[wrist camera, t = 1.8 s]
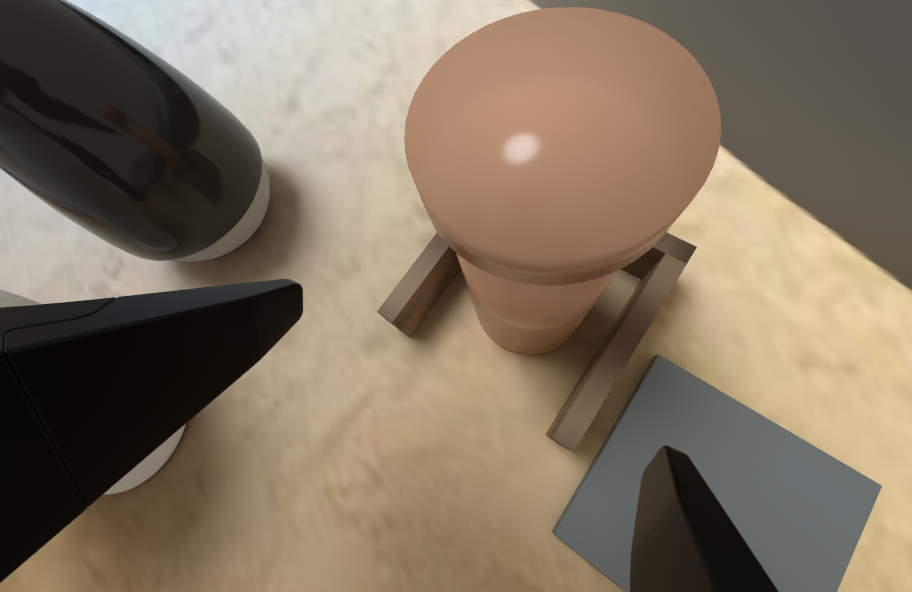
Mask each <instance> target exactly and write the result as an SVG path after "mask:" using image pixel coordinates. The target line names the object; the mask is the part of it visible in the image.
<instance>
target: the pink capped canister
mask: <svg viewBox="0 0 912 592" xmlns="http://www.w3.org/2000/svg"><path fill="white" fill-rule="evenodd" d="M720 135H721V120H720V110H719V106H718V102H717V97H716V94H715V92H714V90H713V87H712V85H711V82H710V80H709V79H708V77H707V75H706V74H705V72H704V71H703V69H702V67H701V66H700V65H699V63H698V62H697V61H696V60H695V59H694V58H693V56H692V55H691V54H690V53H689V52H688V51H687V50H686V49H685V48H684V47H682V46H681V45H680V44H679V43H678V42H677V41H675V40H674V39H673V38H671V37H670V36H668V35H667V34H665V33H664V32H662V31H660V30H659V29H657V28H655V27H653V26H651V25H649V24H647V23H645V22H643V21H640V20H637V19H635V18H632V17H629V16H626V15H622V14H618V13H615V12H611V11H605V10H599V9H593V8H580V7H563V8H562V7H561V8H548V9H540V10H534V11H529V12H525V13H520V14H517V15H513V16H510V17H507V18H504V19H501V20H499V21H496V22H494V23H492V24H489V25H487V26H485V27H483V28H481V29H479V30H477V31H475V32H474V33H472V34H470V35H469V36H467V37H466V38H464V39H463V40H461V41H460V42H458V43H457V44H455V45H454V46H453V47H452V48H451V49H450V50H448V51H447V52H446V53H445V54H444V55H443V56H442V57H441V58H440V59H439V60H438V61H437V62H436V63H435V64H434V65H433V66H432V68H431V69H430V70H429V72H428V73H427V74H426V76H425V77H424V78H423V80H422V82H421V83H420V85H419V87H418V89H417V90H416V92H415V94H414V97H413V99H412V102H411V104H410V107H409V111H408V115H407V119H406V125H405V136H404V139H405V153H406V158H407V162H408V166H409V170H410V172H411V175H412V177H413V180H414V182H415V185H416V187H417V189H418V192H419V194H420V197H421V199H422V202H423V204H424V206H425V209H426V211H427V214H428V216H429V218H430V220H431V222H432V224H433V226H434V227H435V229H436V231H437V232H438V234H439V235H440V236H441V237H442V238H443V240H444V241H445V242H446V243H447V245H449V246H450V247H451V248H452V249H453V250H454V251H455V252H456V254H457V257H458V260H459V263H460V266H461V268H462V271H463V274H464V277H465V280H466V283H467V286H468V289H469V292H470V295H471V298H472V301H473V304H474V307H475V310H476V313H477V316H478V319H479V321H480V324H481V326H482V327H483V329H484V331H485V332H486V333H487V335H488V336H489V337H490V338H491V339H492V340H493V341H494V342H496V343H497V344H498V345H500V346H501V347H503V348H505V349H507V350H510V351H512V352H516V353H520V354H541V353H545V352H549V351H551V350H554V349H556V348H557V347H559V346H561V345H562V344H563V343H565V342H566V341H567V340H568V339H569V338H570V337H571V336H572V335H573V333H574V332H575V331H576V329H577V328H578V326H579V325H580V324H581V322H582V321H583V319H584V318H585V316H586V315H587V314H588V312H589V311H590V309H591V308H592V306H593V305H594V304H595V302H596V301H597V299H598V298H599V296H600V295H601V294H602V292H603V291H604V289H605V288H606V286H607V285H608V284H609V282H610V281H611V279H612V278H613V276H614V275H615V274H616V272H617V271H618V270H620V269H622V268H623V267H625V266H627V265H629V264H630V263H632V262H634V261H635V260H637V259H638V258H639V257H641V256H642V255H643V254H645V253H646V252H647V251H649V250H650V249H651V248H652V247H653V246H654V245H655V244H656V243H657V242H658V241H659V240H660V239H661V238H662V237H663V235H664V234H665V233H666V232H667V231H668V229H669V228H670V227H671V226H672V224H673V223H674V222H675V221H676V219H677V218H678V217H679V216H680V215H681V213H682V212H683V211H684V210H685V208H686V207H687V206H688V205H689V204H690V202H691V201H692V200H693V198H694V197H695V196H696V194H697V193H698V192H699V190H700V189H701V188H702V186H703V185H704V183H705V181H706V179H707V178H708V176H709V174H710V172H711V170H712V168H713V165H714V162H715V159H716V156H717V153H718V149H719V143H720Z"/></svg>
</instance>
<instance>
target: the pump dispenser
mask: <svg viewBox="0 0 912 592" xmlns="http://www.w3.org/2000/svg"><path fill="white" fill-rule="evenodd" d="M0 169H1V170H3V171H4V172H5V173H7V174H8V175H9V176H10V177H12V178H13V179H14V180H15V181H17V182H18V183H19V184H21V185H22V186H23V187H25V188H26V189H27V190H29V191H30V192H31V193H33V194H34V195H35V196H37V197H38V198H39V199H41V200H42V201H43V202H45V203H46V204H48V205H49V206H51V207H52V208H53V209H55V210H56V211H58V212H59V213H61V214H62V215H64V216H65V217H67V218H68V219H70V220H72V221H73V222H75V223H76V224H78V225H79V226H81V227H83V228H84V229H86V230H87V231H89V232H91V233H92V234H94V235H96V236H97V237H99V238H101V239H102V240H104V241H106V242H108V243H109V244H111V245H113V246H115V247H117V248H119V249H121V250H123V251H125V252H127V253H130V254H132V255H134V256H137V257H140V258H143V259H148V260H155V261H166V260H170V261H180V262H195V261H204V260H209V259H213V258H216V257H219V256H222V255H225V254H227V253H229V252H231V251H233V250H234V249H236V248H238V247H239V246H240V245H242V244H243V243H244V242H246V241H247V240H248V239H249V238H250V237H251V236H252V235H253V234H254V232H255V231H256V230H257V229H258V227H259V226H260V224H261V222H262V220H263V218H264V216H265V214H266V211H267V208H268V204H269V197H270V184H269V177H268V173H267V170H266V167H265V164H264V162H263V159H262V157H261V152H260V148H259V146H258V143H257V141H256V140H255V138H254V136H253V135H252V134H251V132H250V131H249V130H248V129H247V128H246V127H245V126H244V125H243V124H242V123H241V121H240V120H239V119H238V118H237V117H235V116H234V115H233V114H232V113H231V112H230V111H229V110H228V109H227V108H225V107H224V106H223V105H222V104H221V103H219V102H218V101H217V100H216V99H215V98H213V97H212V96H211V95H210V94H209V93H207V92H206V91H205V90H204V89H202V88H201V87H200V86H199V85H197V84H196V83H195V82H194V81H192V80H191V79H190V78H188V77H187V76H186V75H184V74H183V73H182V72H180V71H179V70H177V69H176V68H175V67H173V66H172V65H170V64H169V63H168V62H166V61H165V60H163V59H162V58H160V57H159V56H157V55H156V54H154V53H153V52H151V51H150V50H148V49H147V48H145V47H144V46H142V45H141V44H139V43H138V42H136V41H135V40H133V39H131V38H130V37H128V36H127V35H125V34H124V33H122V32H120V31H119V30H117V29H116V28H114V27H112V26H111V25H109V24H108V23H106V22H104V21H103V20H101V19H99V18H97V17H96V16H94V15H92V14H90V13H89V12H87V11H85V10H83V9H81V8H80V7H78V6H76V5H74V4H72V3H71V2H69V1H67V0H0Z"/></svg>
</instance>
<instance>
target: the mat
mask: <svg viewBox="0 0 912 592" xmlns="http://www.w3.org/2000/svg"><path fill="white" fill-rule="evenodd" d="M664 445H668V446H671V447H673V448H675V449H678V450H680V451H682V452H684V453H686V454H687V455H688V456H689V457H690V459H691V460H692V462H693V463H694V465H695V466H696V468H697V469H698V471H699V472H700V474H701V475H702V477H703V478H704V480H705V481H706V483H707V484H708V486H709V487H710V489H711V490H712V492H713V493H714V495H715V496H716V498H717V499H718V501H719V502H720V504H721V505H722V507H723V508H724V510H725V511H726V513H727V514H728V516H729V517H730V519H731V520H732V522H733V523H734V525H735V526H736V528H737V529H738V531H739V532H740V534H741V535H742V537H743V538H744V540H745V541H746V543H747V544H748V546H749V547H750V549H751V550H752V552H753V553H754V555H755V556H756V558H757V559H758V561H759V562H760V564H761V565H762V567H763V568H764V570H765V571H766V573H767V574H768V576H769V577H770V579H771V580H772V582H773V583H774V585H775V586H776V588H777V589H778V591H779V592H837V590H838V587H839V585H840V583H841V580H842V578H843V576H844V573H845V571H846V569H847V566H848V564H849V562H850V559H851V557H852V555H853V552H854V550H855V548H856V545H857V543H858V541H859V538H860V536H861V534H862V531H863V529H864V527H865V524H866V522H867V520H868V517H869V515H870V513H871V510H872V508H873V506H874V503H875V501H876V499H877V496H878V494H879V492H880V489H881V487H882V486H881V485H880V484H878V483H876V482H874V481H873V480H871V479H869V478H868V477H866V476H864V475H862V474H861V473H859V472H857V471H856V470H854V469H852V468H851V467H849V466H847V465H845V464H844V463H842V462H840V461H839V460H837V459H835V458H834V457H832V456H830V455H828V454H827V453H825V452H823V451H822V450H820V449H818V448H816V447H815V446H813V445H811V444H810V443H808V442H806V441H805V440H803V439H801V438H799V437H798V436H796V435H794V434H793V433H791V432H789V431H787V430H786V429H784V428H782V427H781V426H779V425H777V424H776V423H774V422H772V421H770V420H769V419H767V418H765V417H764V416H762V415H760V414H759V413H757V412H755V411H753V410H752V409H750V408H748V407H747V406H745V405H743V404H741V403H740V402H738V401H736V400H735V399H733V398H731V397H730V396H728V395H726V394H724V393H723V392H721V391H719V390H718V389H716V388H714V387H712V386H711V385H709V384H707V383H706V382H704V381H702V380H701V379H699V378H697V377H695V376H694V375H692V374H690V373H689V372H687V371H685V370H683V369H682V368H680V367H678V366H677V365H675V364H673V363H672V362H670V361H668V360H666V359H665V358H663V357H661V356H660V355H657V356H655V357H654V358H653V360H652V362H651V363H650V365H649V367H648V368H647V370H646V372H645V374H644V375H643V377H642V379H641V380H640V382H639V384H638V386H637V387H636V389H635V391H634V392H633V394H632V396H631V397H630V399H629V401H628V403H627V404H626V406H625V408H624V409H623V411H622V413H621V414H620V416H619V418H618V420H617V421H616V423H615V425H614V426H613V428H612V430H611V432H610V433H609V435H608V437H607V438H606V440H605V442H604V443H603V445H602V447H601V449H600V450H599V452H598V454H597V455H596V457H595V459H594V460H593V462H592V464H591V466H590V467H589V469H588V471H587V472H586V474H585V476H584V477H583V479H582V481H581V483H580V484H579V486H578V488H577V489H576V491H575V493H574V495H573V496H572V498H571V500H570V501H569V503H568V505H567V506H566V508H565V510H564V512H563V513H562V515H561V517H560V518H559V520H558V522H557V523H556V525H555V527H554V529H553V530H552V531H553V534H554V535H555V536H556V537H558V538H559V539H560V540H561V541H563V542H564V543H565V544H566V545H568V546H569V547H570V548H571V549H573V550H574V551H575V552H576V553H578V554H579V555H580V556H581V557H583V558H584V559H585V560H586V561H588V562H589V563H590V564H591V565H593V566H594V567H595V568H596V569H598V570H599V571H600V572H602V573H603V574H604V575H605V576H607V577H608V578H609V579H610V580H612V581H613V582H614V583H615V584H617V585H618V586H619V587H620V588H622V589H623V590H624V591H625V592H630V562H631V548H632V540H633V533H634V526H635V519H636V512H637V505H638V498H639V491H640V484H641V478H642V475H643V472H644V470H645V468H646V467H647V465H648V464H649V463H650V461H651V460H652V459H653V457H654V456H655V455H656V453H657V452H658V450H659V449H660V448H661V447H662V446H664Z"/></svg>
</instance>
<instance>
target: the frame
mask: <svg viewBox="0 0 912 592" xmlns="http://www.w3.org/2000/svg"><path fill="white" fill-rule="evenodd" d="M696 248H697V247H696V246H694V245H691V244H689V243H687V242H685V241H683V240H681V239H679V238H677V237H675V236H673V235H671V234H669V233H667V232H666V233H665V234H664V235H663V237H662V238H661V239H660V240H659V241H658V242H657V243H656V244H655V245H654V246H653V247H652V248H651V249H650V250H649V251H647V252H646V253H645V254H643V255H642V256H641V257H639V258H638V259H637V260H635V261H634V262H632V263H630V264H629V265H627V266H625V267H623V268H622V269H623V270H625V271H627V272H629V273H631V274H633V275H635V276H636V277H638V278H640V279H642V280H641V282H640V283H639V285H638V287H637V288H636V290H635V291H634V293H633V295H632V296H631V298H630V299H629V301H628V303H627V304H626V306H625V307H624V309H623V311H622V312H621V314H620V316H619V317H618V319H617V320H616V322H615V324H614V325H613V327H612V328H611V330H610V332H609V333H608V335H607V336H606V338H605V340H604V341H603V343H602V345H601V346H600V348H599V349H598V351H597V353H596V354H595V356H594V357H593V359H592V361H591V362H590V364H589V365H588V367H587V369H586V370H585V372H584V373H583V375H582V377H581V378H580V380H579V382H578V383H577V385H576V386H575V388H574V390H573V391H572V393H571V394H570V396H569V398H568V399H567V401H566V402H565V404H564V406H563V407H562V409H561V411H560V412H559V414H558V415H557V417H556V419H555V420H554V422H553V423H552V425H551V427H550V428H549V430H548V431H547V433H546V435H547V436H549V437H550V438H552V439H553V440H554V441H556V442H557V443H559V444H560V445H561V446H563V447H565V448H566V449H568V450H570V451H572V452H574V451H575V449H576V447H577V446H578V444H579V442H580V441H581V439H582V438H583V436H584V434H585V433H586V431H587V429H588V428H589V426H590V424H591V423H592V421H593V419H594V418H595V416H596V414H597V413H598V411H599V409H600V408H601V406H602V404H603V403H604V401H605V399H606V398H607V396H608V394H609V393H610V391H611V389H612V388H613V386H614V384H615V383H616V381H617V379H618V378H619V376H620V374H621V373H622V371H623V369H624V368H625V366H626V364H627V363H628V361H629V359H630V358H631V356H632V354H633V353H634V351H635V349H636V348H637V346H638V344H639V343H640V341H641V339H642V338H643V336H644V334H645V333H646V331H647V329H648V328H649V326H650V324H651V323H652V321H653V319H654V318H655V316H656V314H657V313H658V311H659V309H660V308H661V306H662V304H663V303H664V301H665V299H666V298H667V296H668V294H669V293H670V291H671V289H672V288H673V286H674V284H675V283H676V281H677V279H678V278H679V276H680V274H681V273H682V271H683V269H684V268H685V266H686V264H687V263H688V261H689V259H690V258H691V256H692V254H693V253H694V251H695V249H696ZM460 268H461V266H460V263H459V260H458V257H457V254H456V252H455V251H454V250H453V249H452V248H451V247H450V246H449V245H447V243H446V242H445V241H444V240H443V238H442V237H441V236H440V235H439V234H438V232H437V234H436V235H435V236H434V237H433V239H432V240H431V241H430V243H429V244H428V245H427V247H426V248H425V249H424V251H423V252H422V253H421V255H420V256H419V257H418V258H417V260H416V261H415V262H414V264H413V265H412V266H411V268H410V269H409V270H408V272H407V273H406V274H405V276H404V277H403V278H402V279H401V281H400V282H399V283H398V285H397V286H396V287H395V289H394V290H393V291H392V293H391V294H390V295H389V297H388V298H387V299H386V300H385V302H384V303H383V304H382V306H381V307H380V308H379V310H378V311H377V313H379V314H380V315H381V316H382V317H384V318H385V319H386V320H387V321H389V322H390V323H391V324H392V325H394V326H395V327H396V328H398V329H399V330H400V331H402V332H403V333H405V334H406V335H407V336H409V337H411V335H412V334H413V333H414V331H415V330H416V328H417V327H418V326H419V324H420V323H421V322H422V320H423V319H424V318H425V316H426V315H427V313H428V312H429V311H430V309H431V308H432V307H433V305H434V304H435V303H436V301H437V300H438V298H439V297H440V296H441V294H442V293H443V292H444V290H445V289H446V287H447V286H448V285H449V283H450V282H451V281H452V279H453V278H454V277H455V275H456V274H457V272H458V271H459V270H460Z"/></svg>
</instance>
